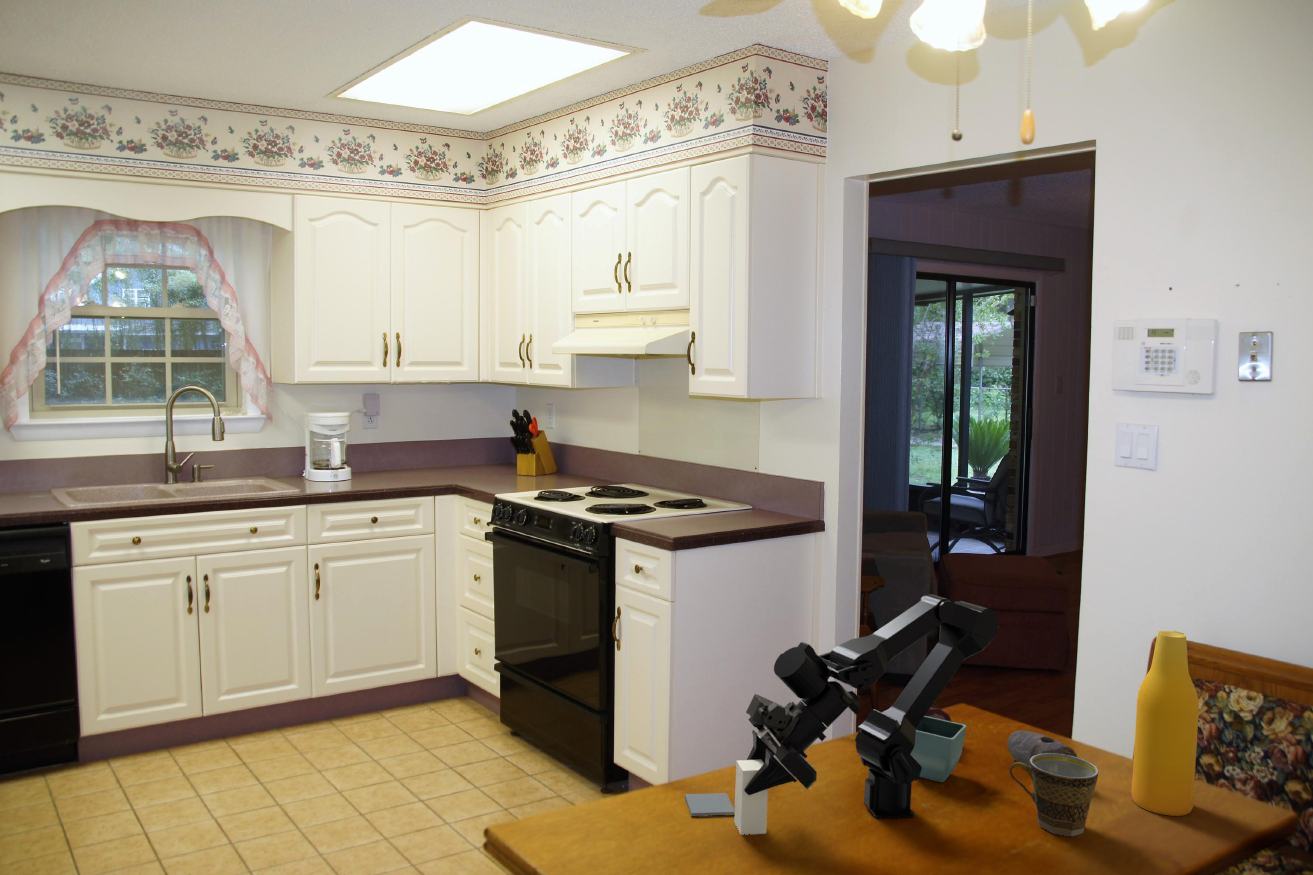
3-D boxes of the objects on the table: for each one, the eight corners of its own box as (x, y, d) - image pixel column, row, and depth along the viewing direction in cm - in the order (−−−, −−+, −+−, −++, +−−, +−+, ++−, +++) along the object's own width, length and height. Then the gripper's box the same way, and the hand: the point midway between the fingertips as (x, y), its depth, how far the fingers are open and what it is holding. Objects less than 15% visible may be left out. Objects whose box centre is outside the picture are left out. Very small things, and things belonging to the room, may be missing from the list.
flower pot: (965, 773, 175) (967, 724, 175) (951, 790, 168) (953, 738, 167) (916, 761, 180) (918, 713, 180) (900, 777, 173) (903, 727, 172)
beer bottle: (1206, 813, 161) (1217, 639, 159) (1161, 819, 158) (1172, 643, 157) (1161, 790, 170) (1171, 625, 168) (1118, 796, 167) (1128, 628, 165)
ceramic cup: (1091, 818, 158) (1095, 758, 157) (1098, 846, 149) (1101, 782, 148) (1006, 805, 162) (1009, 746, 162) (1007, 831, 153) (1010, 768, 152)
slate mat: (726, 796, 163) (726, 792, 163) (734, 815, 156) (734, 811, 156) (684, 797, 162) (684, 793, 162) (691, 816, 155) (691, 812, 155)
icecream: (972, 722, 183) (942, 703, 198) (934, 712, 183) (907, 693, 198) (962, 759, 183) (933, 736, 198) (925, 749, 182) (898, 727, 197)
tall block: (759, 821, 154) (761, 759, 153) (766, 833, 150) (768, 769, 149) (734, 822, 153) (736, 760, 153) (740, 834, 149) (742, 770, 149)
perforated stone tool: (997, 757, 184) (999, 720, 183) (1020, 754, 185) (1022, 718, 185) (1055, 789, 170) (1057, 750, 169) (1079, 786, 171) (1081, 747, 171)
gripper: (763, 661, 160) (694, 730, 159) (798, 698, 142) (721, 776, 141) (807, 707, 162) (740, 775, 161) (848, 750, 144) (773, 827, 142)
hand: (742, 786), depth 151 cm, fingers closed on tall block, 4 cm apart
